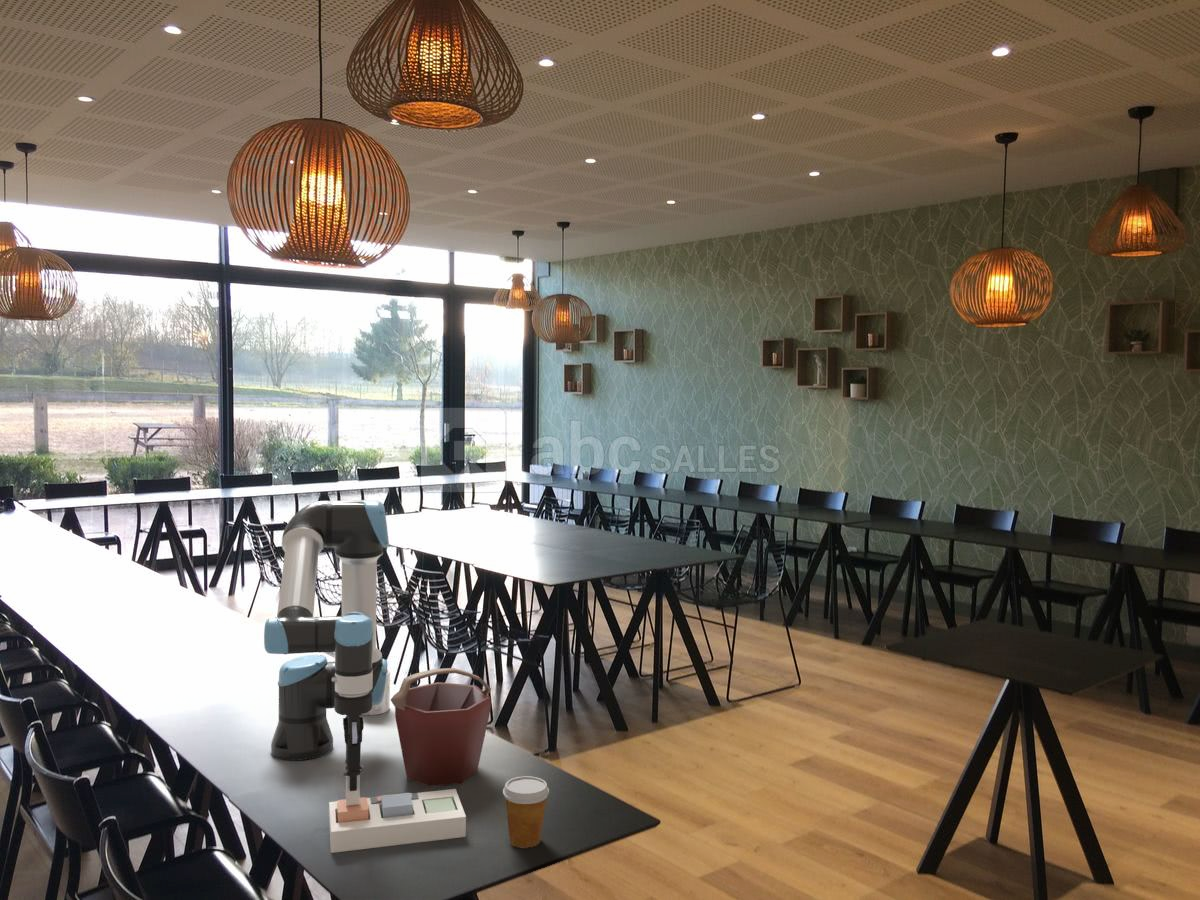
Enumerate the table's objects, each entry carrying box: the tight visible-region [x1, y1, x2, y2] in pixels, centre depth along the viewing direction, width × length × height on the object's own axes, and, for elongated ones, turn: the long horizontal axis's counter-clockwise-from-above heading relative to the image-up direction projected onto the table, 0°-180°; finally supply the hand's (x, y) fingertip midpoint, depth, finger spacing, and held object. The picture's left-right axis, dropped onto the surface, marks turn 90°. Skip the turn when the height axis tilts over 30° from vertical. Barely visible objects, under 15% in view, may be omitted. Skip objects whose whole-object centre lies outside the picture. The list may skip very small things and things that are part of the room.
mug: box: [361, 668, 391, 716], centre depth 270 cm, size 10×12×11 cm
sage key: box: [424, 798, 456, 813], centre depth 201 cm, size 6×6×2 cm
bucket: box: [390, 667, 492, 787], centre depth 228 cm, size 24×22×25 cm
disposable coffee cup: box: [502, 775, 550, 849], centre depth 194 cm, size 10×10×12 cm
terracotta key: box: [337, 796, 368, 823], centre depth 195 cm, size 6×6×2 cm
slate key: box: [380, 792, 413, 818], centre depth 198 cm, size 6×6×2 cm
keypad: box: [328, 788, 467, 854], centre depth 198 cm, size 14×27×5 cm, turn 107°
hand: (352, 803), depth 195 cm, fingers closed
